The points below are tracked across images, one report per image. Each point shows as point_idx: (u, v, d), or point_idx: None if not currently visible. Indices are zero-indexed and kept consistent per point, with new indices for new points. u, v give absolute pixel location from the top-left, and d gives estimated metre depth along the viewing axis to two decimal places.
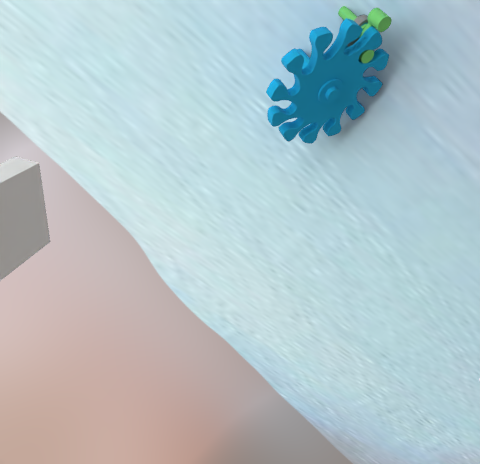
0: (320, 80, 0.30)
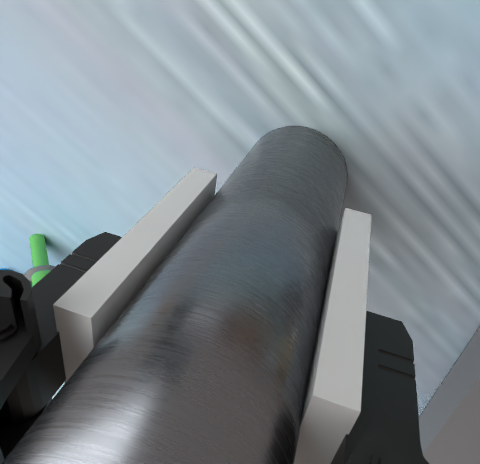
0: None
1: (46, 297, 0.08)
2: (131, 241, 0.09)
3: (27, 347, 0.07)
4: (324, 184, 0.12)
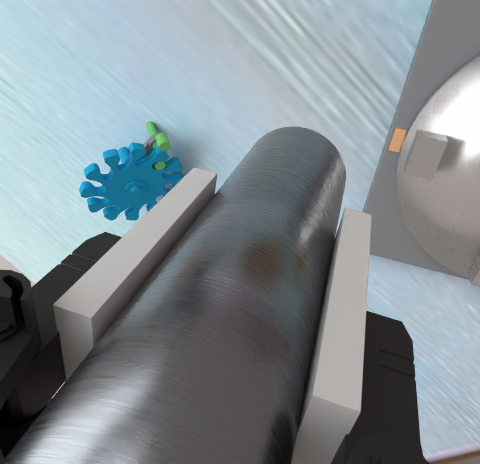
0: (122, 182, 0.39)
1: (46, 297, 0.08)
2: (131, 241, 0.09)
3: (27, 347, 0.07)
4: (322, 185, 0.12)
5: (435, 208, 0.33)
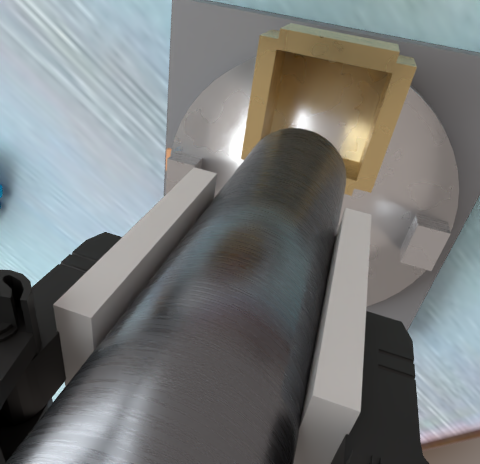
0: None
1: (46, 297, 0.08)
2: (131, 241, 0.09)
3: (27, 347, 0.07)
4: (323, 186, 0.12)
5: None
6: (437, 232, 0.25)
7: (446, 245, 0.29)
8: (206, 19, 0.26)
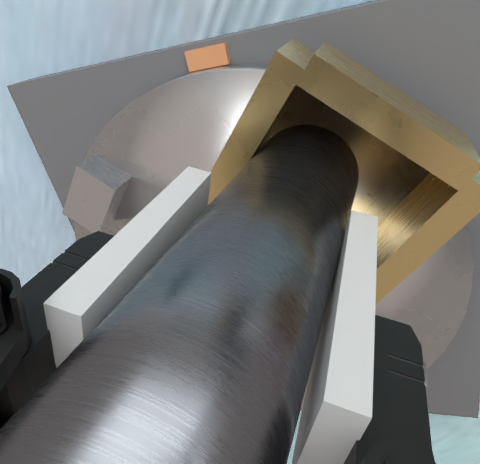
0: None
1: (37, 296, 0.08)
2: (123, 240, 0.09)
3: (17, 345, 0.07)
4: (339, 189, 0.12)
5: None
6: None
7: None
8: None
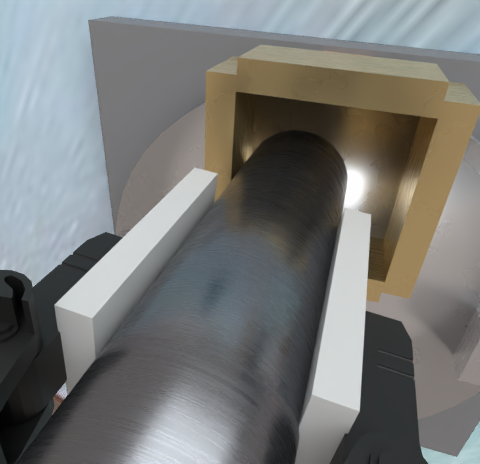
0: None
1: (47, 297, 0.08)
2: (132, 241, 0.09)
3: (28, 347, 0.07)
4: (321, 186, 0.12)
5: None
6: None
7: None
8: None
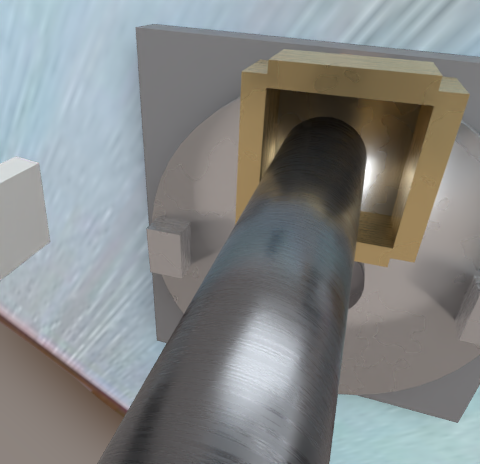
0: None
1: None
2: None
3: None
4: (346, 160, 0.15)
5: None
6: None
7: None
8: None
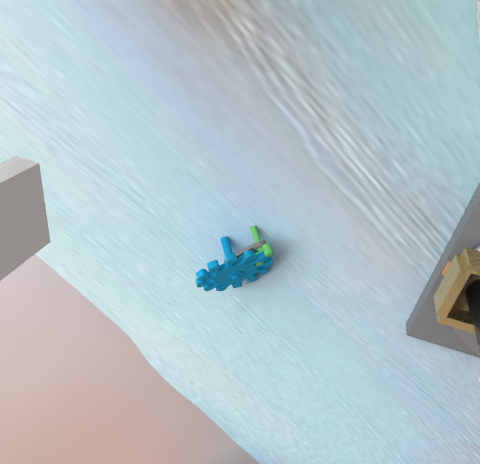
0: (229, 272, 0.50)
1: None
2: None
3: None
4: None
5: None
6: None
7: None
8: None
